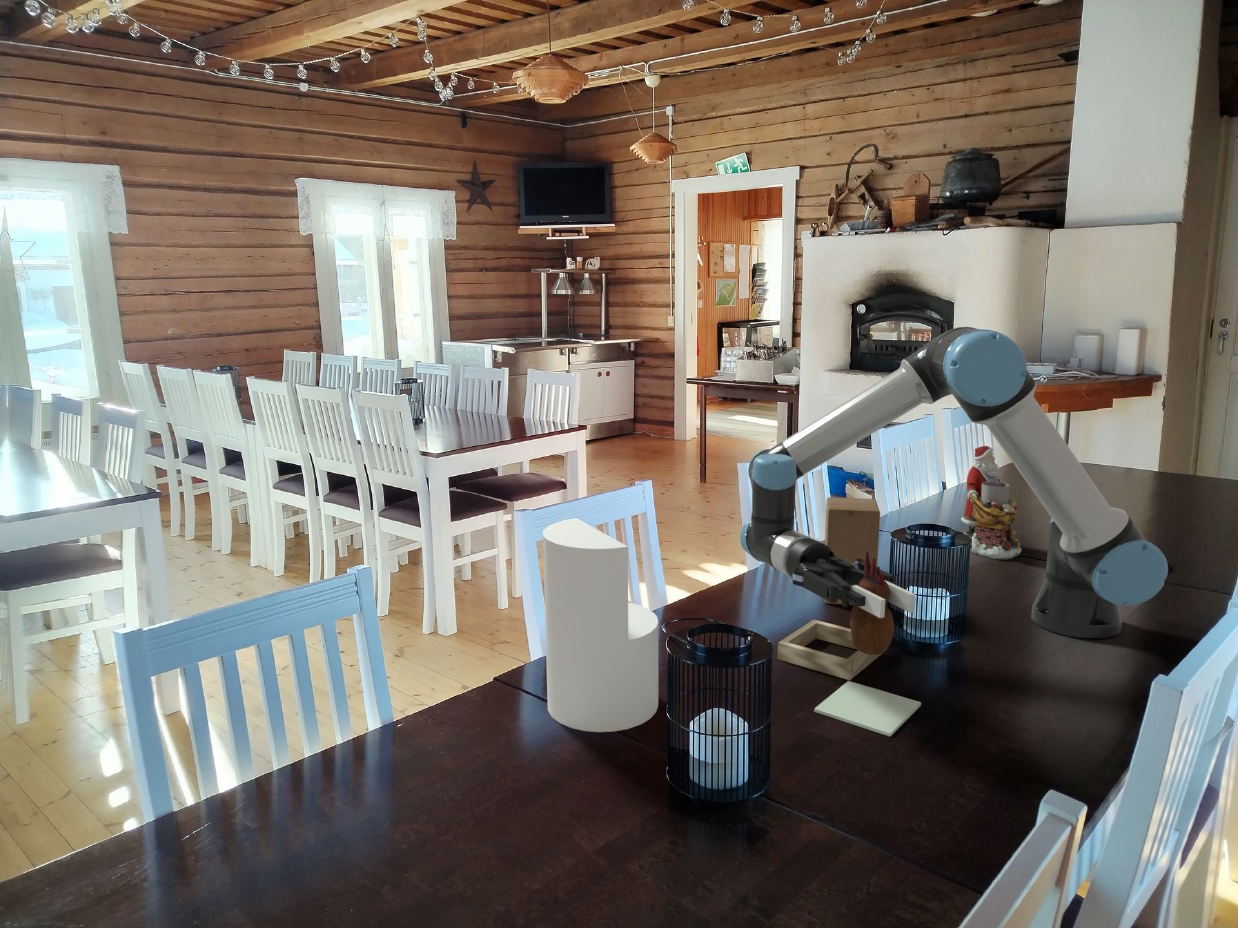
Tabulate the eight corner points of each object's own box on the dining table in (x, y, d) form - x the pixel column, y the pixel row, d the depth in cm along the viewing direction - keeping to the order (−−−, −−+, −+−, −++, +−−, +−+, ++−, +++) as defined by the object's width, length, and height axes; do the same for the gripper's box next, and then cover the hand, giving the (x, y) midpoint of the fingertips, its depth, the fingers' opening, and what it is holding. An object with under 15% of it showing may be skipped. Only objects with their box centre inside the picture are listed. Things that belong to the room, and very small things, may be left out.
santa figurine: (1025, 562, 202) (1033, 456, 197) (959, 557, 206) (966, 453, 202) (1017, 543, 218) (1025, 444, 213) (957, 538, 222) (963, 441, 217)
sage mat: (920, 705, 135) (921, 702, 135) (890, 736, 126) (890, 733, 126) (848, 683, 143) (848, 680, 143) (814, 711, 134) (814, 708, 134)
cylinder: (575, 742, 125) (571, 555, 120) (530, 693, 140) (525, 525, 135) (679, 714, 133) (680, 537, 127) (625, 670, 148) (624, 510, 142)
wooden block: (875, 607, 176) (880, 510, 171) (823, 604, 178) (828, 508, 173) (871, 590, 185) (876, 498, 181) (822, 587, 187) (826, 496, 183)
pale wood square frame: (882, 653, 154) (883, 637, 154) (849, 680, 144) (850, 663, 143) (812, 634, 162) (813, 619, 162) (777, 658, 152) (777, 642, 152)
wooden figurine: (843, 641, 136) (848, 549, 133) (880, 640, 136) (885, 548, 133) (859, 660, 129) (864, 563, 126) (897, 659, 130) (903, 562, 126)
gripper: (845, 573, 151) (943, 621, 130) (757, 587, 144) (845, 640, 123) (848, 531, 150) (947, 573, 129) (758, 543, 143) (848, 589, 122)
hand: (897, 605), depth 126 cm, fingers closed on wooden figurine, 5 cm apart
